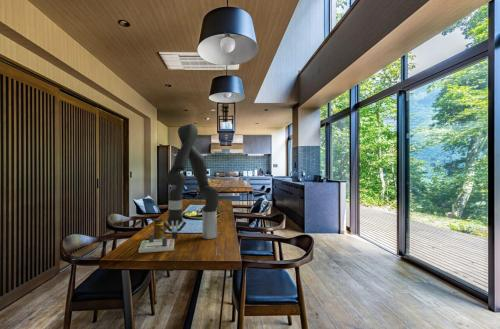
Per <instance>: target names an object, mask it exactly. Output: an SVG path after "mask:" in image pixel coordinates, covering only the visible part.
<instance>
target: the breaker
mask: <svg viewBox="0 0 500 329" xmlns="http://www.w3.org/2000/svg"><path fill="white" fill-rule="evenodd" d="M148 240H149V242H153V241H154V233H149V234H148Z"/></svg>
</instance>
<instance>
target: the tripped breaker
mask: <svg viewBox="0 0 500 329" xmlns="http://www.w3.org/2000/svg"><path fill="white" fill-rule="evenodd" d="M167 239H168V236H163V238H162V239H161V240H162V246H166V245H167Z"/></svg>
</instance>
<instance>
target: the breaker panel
mask: <svg viewBox="0 0 500 329" xmlns="http://www.w3.org/2000/svg"><path fill="white" fill-rule="evenodd" d="M174 249H175V239H173V238H167V245H166V246H162V239H156V240H154V241H153V242H149V239H148V240H142V242H141V244H140V246H139V248H138V253H139V254H140V253H142V254H143V253H155V252H157V253H158V252H169V251H174Z"/></svg>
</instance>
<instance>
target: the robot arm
mask: <svg viewBox="0 0 500 329" xmlns="http://www.w3.org/2000/svg"><path fill="white" fill-rule="evenodd" d="M198 132H199V129H198V128H197V126H196V125H195V124H194V123H190V124H185V125H181V126H179V127H178V130H177V134H178V137H179V140H180V142H181V144H182V145H181V146H180V149H179V150H178V151H177V153H176V155H175V159H174V162H173V164H172V166H171V168H170V170H169V171H168V174H167V175H166V180H165V181H166V183H167V185H169V186H176V187H175V189H171V190H169V193H168V207H167V208H168V212H167V213H168V215H167V216H168V217H167V220H165V221H163V223H164V227H165V229H167V231H168V232H170V233H171V239H174V240H176V239H177V238H178V233H179V232H181V231H182V229H183V228H184V227H185V226H186V224H187V221H185V220H184V219H183V192H184V188H185V184H186V181H187V180H186V175H185V174H184V173H181V172H183V171H185V170H186V168H187V163H188V160H189V164H190V166H191V169H192V172H193V174H194V177H195V180H196V182H197V185H198V189H199V193H200V196H201V199H203V200H205V205H204V206H202V233H201V234H202V236H201V237H202V239H205V240H206V239H207V240H210V239H212V240H213V239H217V238H218V222H217V221H218V220H217V219H218V218H217V217H218V216H217V215H218V213H217V212H218V211H217V210H218V206H219V195H220V194H219V191H218V189H217V187H215V186H211V185H210V184H209V181H208V177H207V176H208V166H207V162H206V160H205V156H203V154H201V152H200V151H199V150H198V149H197V148H196V147H195V146H194V144H195V142H196V139H197V137H198V134H199V133H198ZM169 225H170V226H171V227H170V226H169Z"/></svg>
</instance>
